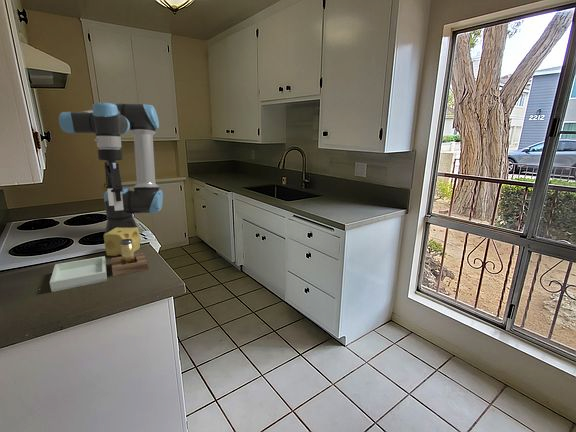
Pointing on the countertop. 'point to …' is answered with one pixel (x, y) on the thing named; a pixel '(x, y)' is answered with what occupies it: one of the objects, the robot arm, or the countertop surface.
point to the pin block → (129, 265)
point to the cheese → (116, 236)
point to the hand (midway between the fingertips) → (116, 207)
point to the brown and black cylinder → (127, 251)
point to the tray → (78, 273)
